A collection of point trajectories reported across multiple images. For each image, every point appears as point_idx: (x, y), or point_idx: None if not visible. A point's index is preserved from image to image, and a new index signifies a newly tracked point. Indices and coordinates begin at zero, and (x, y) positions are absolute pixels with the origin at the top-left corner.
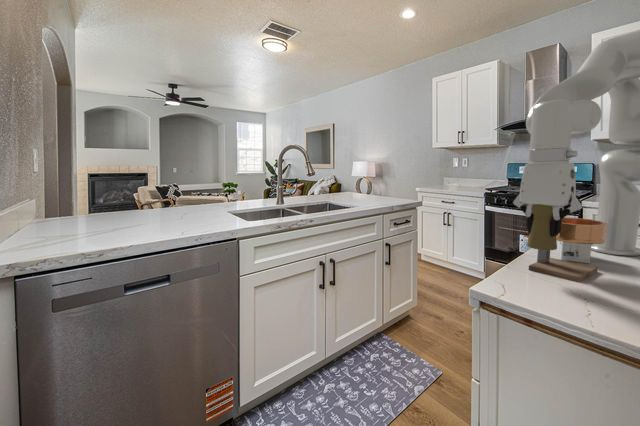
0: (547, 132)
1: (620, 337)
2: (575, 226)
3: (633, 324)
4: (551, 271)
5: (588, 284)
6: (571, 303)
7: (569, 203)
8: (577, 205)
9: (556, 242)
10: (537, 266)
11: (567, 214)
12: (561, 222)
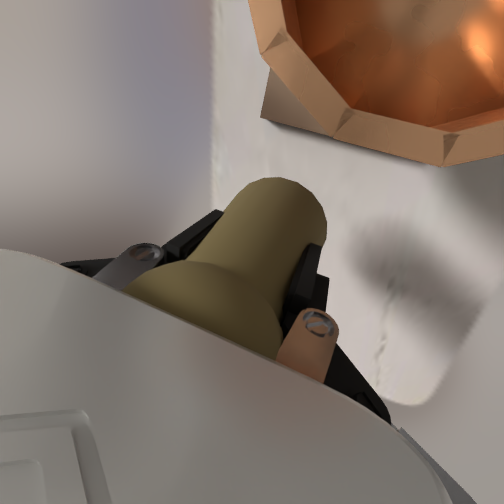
0: None
1: (408, 402)
2: (436, 163)
3: (448, 364)
4: (326, 134)
5: None
6: (359, 317)
7: (383, 434)
8: None
9: (320, 243)
10: (284, 111)
11: (354, 381)
12: (325, 309)
